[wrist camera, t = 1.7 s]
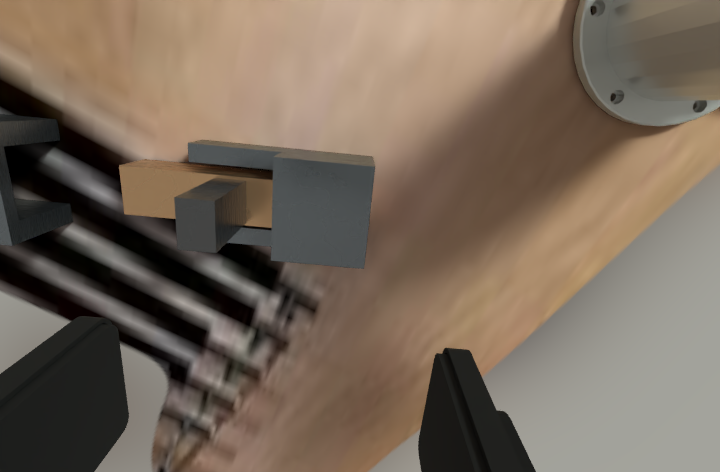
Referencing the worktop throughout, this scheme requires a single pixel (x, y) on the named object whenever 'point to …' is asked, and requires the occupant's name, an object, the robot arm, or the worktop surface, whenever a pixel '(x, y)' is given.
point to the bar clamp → (286, 237)
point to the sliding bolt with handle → (198, 199)
